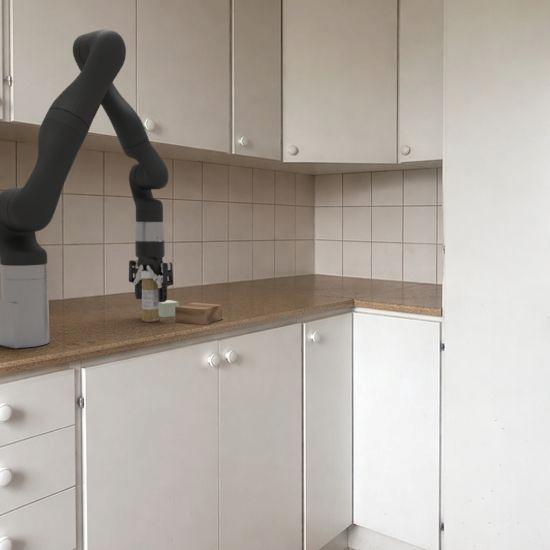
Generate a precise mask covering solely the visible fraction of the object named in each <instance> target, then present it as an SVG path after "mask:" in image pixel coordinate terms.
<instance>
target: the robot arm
mask: <svg viewBox="0 0 550 550" xmlns="http://www.w3.org/2000/svg"><path fill="white" fill-rule="evenodd" d="M72 55H73V59H74V61H75V63H76V65H77V68H78V70H79V71H80V73H78V75H77V76H76V77H75V79H74V80H73V81H72V82H71V83H70V84H69V85H67V87H66V88H65V89H64V90H63V91H62V92H61V93H60V94H59V95H58V96H57V97H56V98H55V99H54V101H53V102H52V104H51V105H50V106H49V108H48V110H47V113H46V114H45V116H44V118H43V120H42V122H41V124H40V127H39V129H38V135H37V159H36V162H35V165H34V168H33V169H32V172H31V173H30V176H29V178H28V179H27V181H26V182H25V183H24V185H23V187H11V188H7V189H4V190H2V191H1V192H0V293H1V299H0V346H2V347H6V348H11V349H20V348H31V347H32V348H34V347H39V346H43V345H47V344H49V343H50V316H49V315H50V312H49V283H48V282H49V279H48V277H49V276H48V275H49V274H48V272H49V271H48V252H47V251H46V249H44V248H43V246H41V245H40V244H39V243H38V241H37V236H36V232H41V231H42V230H44V229H46V228H47V226H48V225H50V223H51V222H52V219H53V217H54V215H55V213H56V209H57V206H58V203H59V201H60V197H61V194H62V191H63V188H64V186H65V183H66V181H67V177H68V175H69V173H70V171H71V169H72V168H73V167H72V166H73V164H74V162H75V159H76V158H77V155H78V154H79V151H80V149H81V148H82V146H83V144H84V141H85V139H86V137H87V135H88V133H89V131H90V129H91V126H92V124H93V121H94V119H95V117H96V116H97V115H96V114H97V113H98V111H99V109H100V107H102V108H103V110H104V112H105V113H106V115H107V117H108V120H109V121H110V123H111V125H112V127H113V129H114V132H115V134H116V137H117V139H118V141H119V143H120V146H121V148H122V150H123V153H124V154H125V156H126V157H127V158H129V159H133V160H135V161H137V163H135V164H133V165H132V166H131V167H130V170H129V173H128V182H129V183H128V184H129V188H130V190H131V194H132V199H133V202H134V204H135V205H134V206H135V228H134V241H135V242H134V246H135V247H134V248H135V249H134V251H135V253H134V254H135V257H136V258H137V259H135V260H134V259H132V260H131V259H130V260H129V261H128V282H129V283H132V284H133V285H134V296H135V299H136V300H142V278H141V272H142V271H148V272H150V274H151V276H152V278H153V280H154V281H156V283H157V284H158V301H159V302H165V301H166V300H168V287H170V286H173V285H174V271H173V263H172V261H171V262H164V261H163V258H164V257H165V256H166V255H165V254H166V253H165V249H166V247H165V245H166V244H165V227H164V225H165V224H164V206H163V202H162V201H161V200H159V199H157V198H154V195H153V191H152V190H161V189H164V188H165V187H166V186H167V184H168V183H169V178H170V177H169V175H170V174H169V171H168V167H167V165H166V163H165V161H164V160H163V159H162V157H161V156H160V155H159V153H158V151H157V150H156V148H155V147H154V146H153V145H152V143H151V142H150V138H149V136H148V133H147V131H146V129H145V126H144V123H143V121H142V120H141V118H140V116H139V115H138V113H137V112H136V111H135V109H134V108H133V107H132V106H131V104H129V102H127V101H126V99H125V98H124V97H123V96H122V94H121V93H120V92H119V90H118V88H117V87H116V86H115V84H114V83H113V82H114V81H115V79H116V77H118V74H119V73H120V71H121V69H122V68H123V66H124V64H125V61H126V56H127V47H126V44H125V40H124V39H123V37H122V35H121V34H119V33H118V32H117V31H116V30H112V29H108V28H107V29H100V30H98V29H97V30H94V31H90V32H88V33H84V34H81V35H79V36H78V37H77V38H75V40H74V42H73V44H72Z"/></svg>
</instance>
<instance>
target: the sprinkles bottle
mask: <svg viewBox="0 0 550 550" xmlns="http://www.w3.org/2000/svg"><path fill="white" fill-rule="evenodd" d="M141 278H142V299H141V309H142V312H141V314H142V318H141V319H142V322H147V323H151V322H154V323H155V322H159V320H160V316H159V301H158V288H159V286H158V284H157V283H156V281H154V280H153V278H152V276H151V274H150V272H148V271H142V272H141Z"/></svg>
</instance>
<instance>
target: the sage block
mask: <svg viewBox="0 0 550 550" xmlns="http://www.w3.org/2000/svg"><path fill="white" fill-rule="evenodd" d="M177 306H180V302H179V301H176V300H171V299H167V300H166V301H165V302H159V318H170V317H175V307H177Z"/></svg>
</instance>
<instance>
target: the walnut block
mask: <svg viewBox="0 0 550 550" xmlns="http://www.w3.org/2000/svg"><path fill="white" fill-rule="evenodd" d="M174 317H175V318H174V319H175V320H174V321H175V323H184V324H192V325H193V324H194V325H203V326H204V325H208V324H212V323H216V322H218V320H219V321H221V319H222V320H223V304H216V303H205V302H204V303H203V302H190V303H186V304H182V305H179V306H177V307H175V316H174Z"/></svg>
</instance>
